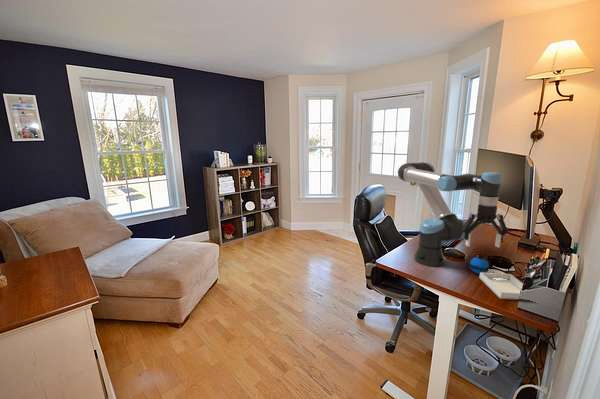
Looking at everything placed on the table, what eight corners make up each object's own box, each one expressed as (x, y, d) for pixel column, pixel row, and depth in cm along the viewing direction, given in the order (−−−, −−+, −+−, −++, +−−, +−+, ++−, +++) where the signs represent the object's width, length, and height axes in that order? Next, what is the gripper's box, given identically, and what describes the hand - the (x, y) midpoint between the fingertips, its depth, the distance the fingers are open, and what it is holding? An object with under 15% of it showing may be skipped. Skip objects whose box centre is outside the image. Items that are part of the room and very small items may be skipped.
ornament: (476, 268, 140) (478, 250, 137) (492, 275, 132) (495, 257, 129) (464, 270, 137) (466, 252, 135) (479, 278, 129) (482, 259, 127)
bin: (500, 298, 112) (501, 292, 112) (479, 277, 129) (480, 272, 129) (535, 301, 110) (537, 294, 110) (509, 279, 127) (510, 274, 127)
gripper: (463, 206, 125) (458, 248, 129) (521, 206, 121) (514, 250, 125) (456, 202, 132) (452, 242, 136) (511, 203, 128) (505, 244, 133)
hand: (482, 246), depth 131 cm, fingers open, 13 cm apart
